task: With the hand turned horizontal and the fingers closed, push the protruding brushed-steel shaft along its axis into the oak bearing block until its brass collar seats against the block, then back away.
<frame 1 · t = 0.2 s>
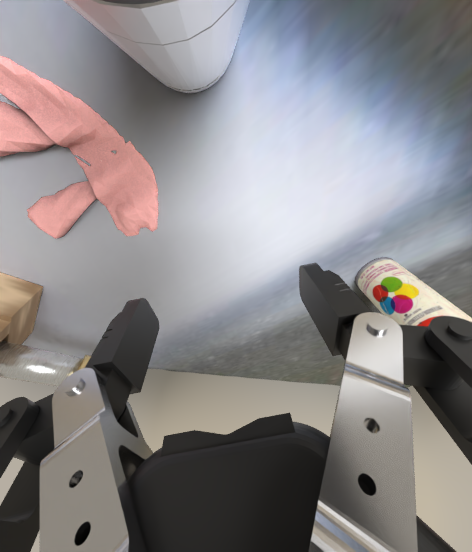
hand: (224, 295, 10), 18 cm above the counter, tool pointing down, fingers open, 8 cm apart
cloth: (55, 166, 22), on the counter
aerosol can: (374, 273, 35), on the counter
shaft: (46, 367, 28), point 8 cm above the counter, slide at 9.0 cm
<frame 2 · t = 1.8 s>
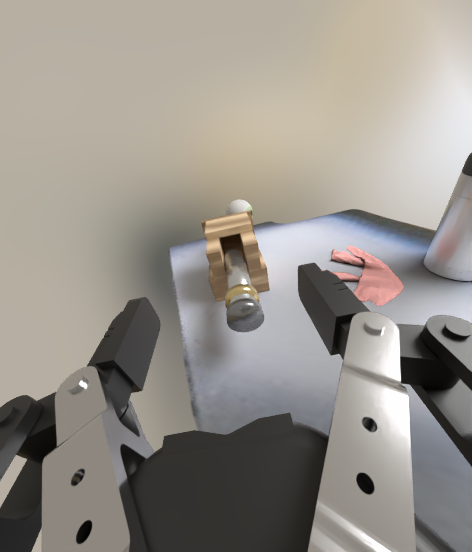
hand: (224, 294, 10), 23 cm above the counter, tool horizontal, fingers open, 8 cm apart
bearing block: (239, 279, 49), on the counter
cloth: (346, 271, 45), on the counter
lollipop: (246, 251, 60), on the counter
shaft: (238, 282, 35), point 8 cm above the counter, slide at 9.0 cm
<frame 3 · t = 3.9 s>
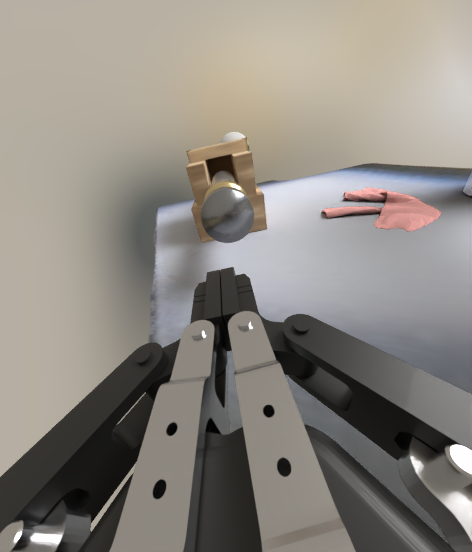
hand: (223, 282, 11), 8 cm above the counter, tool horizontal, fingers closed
bearing block: (232, 223, 41), on the counter
cloth: (362, 209, 37), on the counter
lollipop: (242, 203, 52), on the counter
shaft: (225, 196, 27), point 8 cm above the counter, slide at 9.0 cm
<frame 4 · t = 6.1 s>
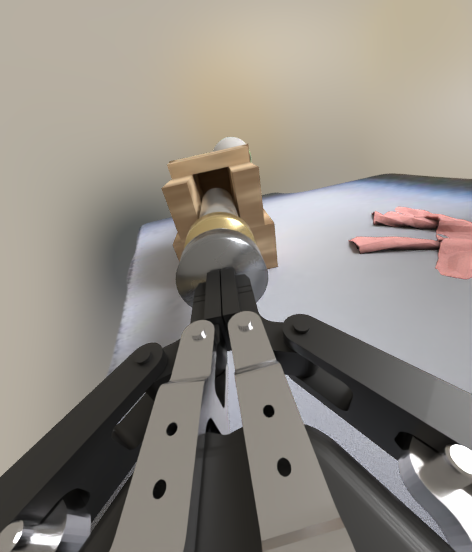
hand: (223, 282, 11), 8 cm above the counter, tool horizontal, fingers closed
bearing block: (229, 254, 31), on the counter
cloth: (403, 239, 28), on the counter
lollipop: (242, 222, 43), on the counter
shaft: (219, 228, 19), point 8 cm above the counter, slide at 7.3 cm, touching gripper
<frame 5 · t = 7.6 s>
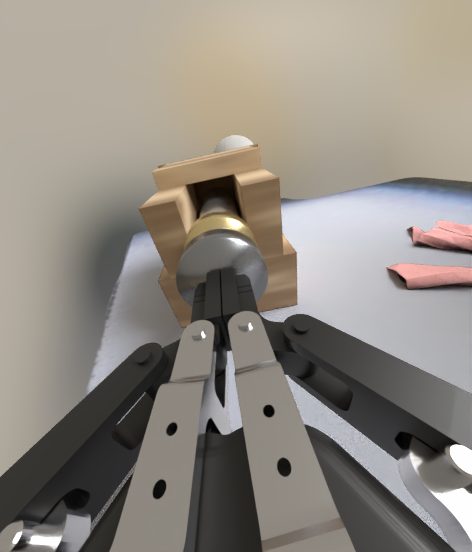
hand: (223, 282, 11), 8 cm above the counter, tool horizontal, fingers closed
bearing block: (234, 281, 25), on the counter
cloth: (458, 266, 22), on the counter
lollipop: (247, 235, 36), on the counter
shaft: (219, 228, 19), point 8 cm above the counter, slide at 0.0 cm, touching gripper
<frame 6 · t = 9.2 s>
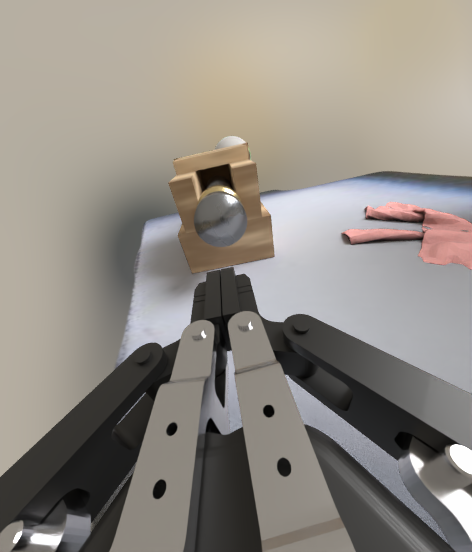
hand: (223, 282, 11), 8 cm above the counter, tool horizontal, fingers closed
bearing block: (230, 246, 33), on the counter
cloth: (392, 231, 30), on the counter
lollipop: (242, 218, 45), on the counter
shaft: (219, 200, 27), point 8 cm above the counter, slide at 0.0 cm
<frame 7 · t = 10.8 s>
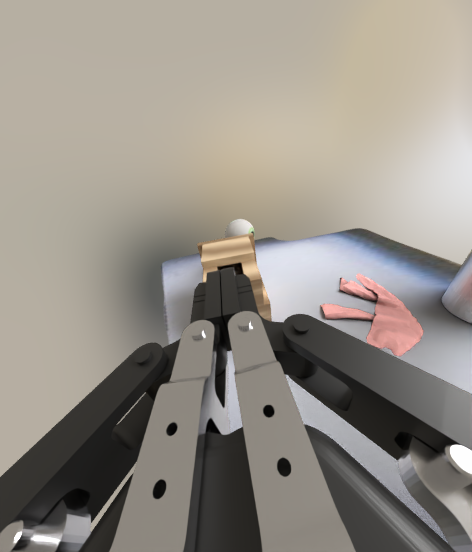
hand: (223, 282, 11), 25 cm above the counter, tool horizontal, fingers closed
bearing block: (238, 309, 44), on the counter
cloth: (356, 305, 41), on the counter
lollipop: (245, 272, 55), on the counter
shaft: (233, 288, 37), point 8 cm above the counter, slide at 0.0 cm
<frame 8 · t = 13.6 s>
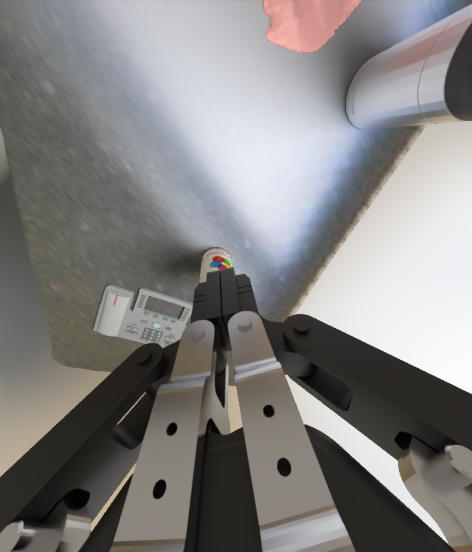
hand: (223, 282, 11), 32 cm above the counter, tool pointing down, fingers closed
aerosol can: (216, 260, 47), on the counter
office telephone: (146, 315, 56), on the counter
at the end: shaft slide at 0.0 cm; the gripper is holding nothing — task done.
